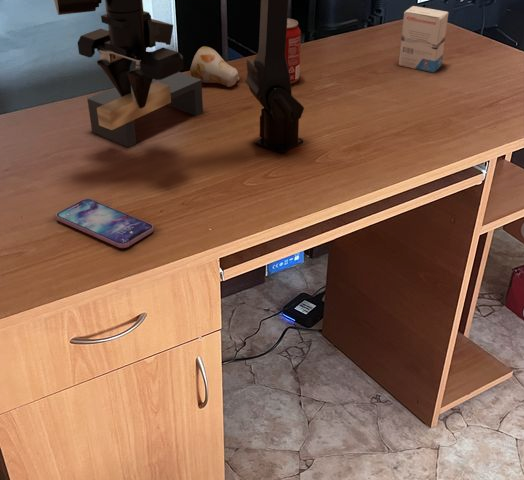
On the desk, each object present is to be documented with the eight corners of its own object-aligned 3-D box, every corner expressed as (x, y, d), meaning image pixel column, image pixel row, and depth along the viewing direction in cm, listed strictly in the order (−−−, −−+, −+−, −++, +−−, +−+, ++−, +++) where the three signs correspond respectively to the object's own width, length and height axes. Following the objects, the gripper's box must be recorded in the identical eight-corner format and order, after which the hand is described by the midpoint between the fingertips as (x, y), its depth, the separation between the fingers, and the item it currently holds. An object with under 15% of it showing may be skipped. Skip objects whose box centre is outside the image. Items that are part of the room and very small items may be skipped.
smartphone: (87, 197, 127) (156, 225, 121) (87, 202, 128) (156, 231, 121) (52, 214, 123) (122, 245, 116) (53, 220, 123) (123, 251, 117)
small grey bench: (203, 112, 155) (201, 79, 150) (128, 147, 143) (124, 113, 139) (166, 99, 160) (164, 67, 155) (91, 132, 148) (87, 98, 143)
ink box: (442, 66, 174) (450, 11, 166) (433, 73, 171) (441, 17, 163) (406, 58, 177) (413, 4, 170) (397, 65, 174) (403, 10, 167)
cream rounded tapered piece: (233, 94, 162) (207, 52, 157) (202, 104, 169) (176, 63, 163) (251, 74, 166) (226, 31, 160) (220, 84, 172) (195, 43, 167)
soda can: (304, 77, 169) (306, 20, 161) (291, 88, 164) (293, 30, 156) (275, 72, 171) (276, 15, 163) (262, 83, 166) (262, 25, 158)
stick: (111, 130, 127) (109, 112, 125) (98, 125, 129) (96, 107, 127) (171, 102, 136) (169, 85, 134) (158, 98, 137) (157, 81, 135)
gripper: (204, 6, 121) (209, 103, 131) (120, -16, 130) (130, 77, 140) (153, 25, 115) (162, 126, 125) (68, 0, 124) (83, 96, 134)
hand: (135, 104), depth 131 cm, fingers closed on stick, 3 cm apart
